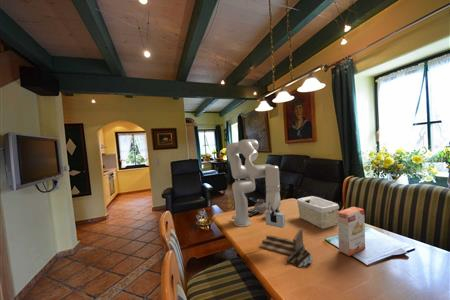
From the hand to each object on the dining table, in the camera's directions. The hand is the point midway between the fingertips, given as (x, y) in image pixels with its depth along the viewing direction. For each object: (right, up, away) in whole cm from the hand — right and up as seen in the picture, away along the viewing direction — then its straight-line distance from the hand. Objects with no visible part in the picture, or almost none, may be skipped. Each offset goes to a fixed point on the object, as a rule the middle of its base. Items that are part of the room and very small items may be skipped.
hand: (274, 220), depth 106 cm
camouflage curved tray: (+9, -15, -14) cm, 23 cm away
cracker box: (+39, -13, -7) cm, 41 cm away
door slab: (0, -3, 0) cm, 3 cm away
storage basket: (+38, -12, +30) cm, 50 cm away
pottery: (+7, -14, +49) cm, 51 cm away
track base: (+4, -15, +2) cm, 15 cm away
